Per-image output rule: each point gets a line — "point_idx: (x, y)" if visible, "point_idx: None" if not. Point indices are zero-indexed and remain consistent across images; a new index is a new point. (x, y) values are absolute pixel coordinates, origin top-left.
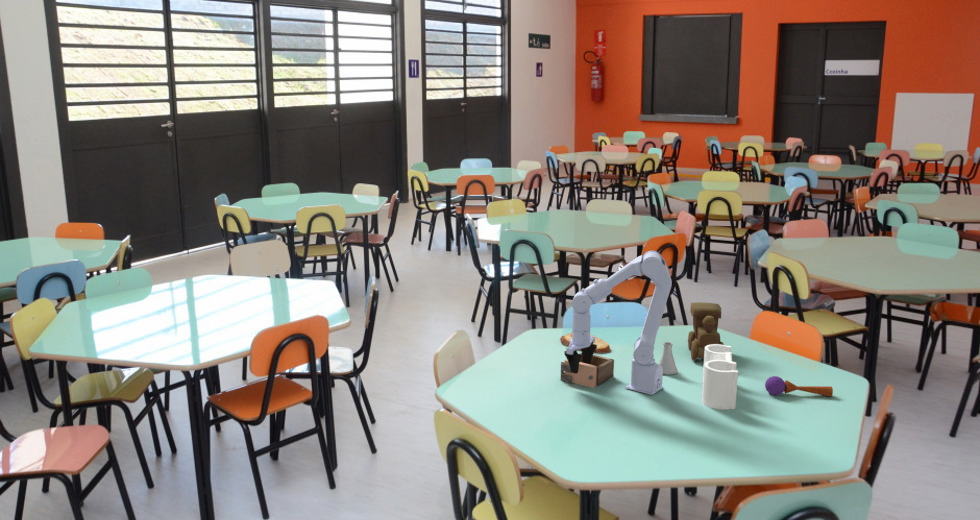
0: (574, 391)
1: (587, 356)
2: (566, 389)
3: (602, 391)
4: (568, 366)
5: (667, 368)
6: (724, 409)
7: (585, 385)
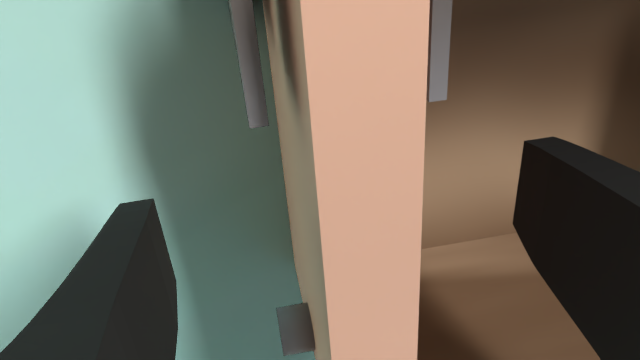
0: (57, 211)
1: (623, 316)
2: (14, 116)
3: (280, 351)
4: (241, 63)
5: None
6: None
7: (286, 189)
